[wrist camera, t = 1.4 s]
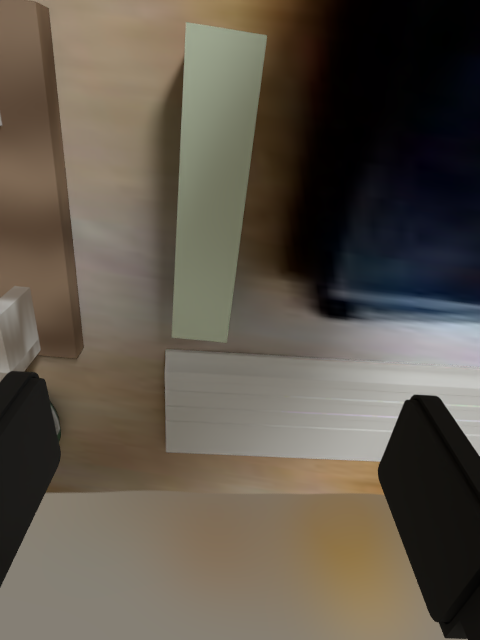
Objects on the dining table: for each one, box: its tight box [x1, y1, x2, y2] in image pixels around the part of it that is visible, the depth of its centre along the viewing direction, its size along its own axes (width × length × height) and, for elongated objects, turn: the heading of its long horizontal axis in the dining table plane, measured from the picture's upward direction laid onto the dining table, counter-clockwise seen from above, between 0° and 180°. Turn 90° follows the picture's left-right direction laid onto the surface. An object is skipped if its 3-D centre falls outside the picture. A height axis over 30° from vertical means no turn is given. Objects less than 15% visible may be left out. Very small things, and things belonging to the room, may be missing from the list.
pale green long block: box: [172, 22, 267, 343], centre depth 22 cm, size 16×4×4 cm, turn 173°
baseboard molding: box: [165, 349, 480, 461], centre depth 32 cm, size 31×3×12 cm
